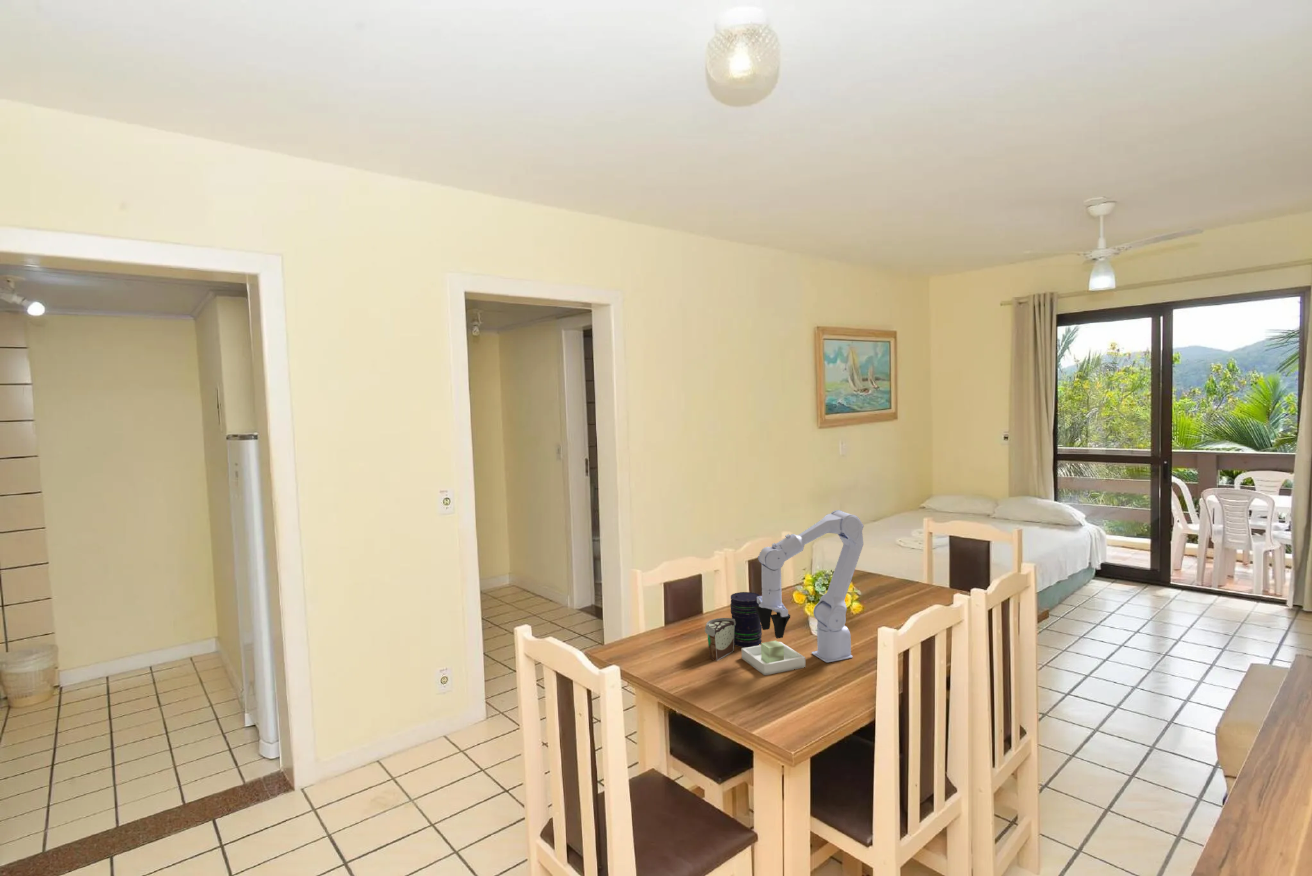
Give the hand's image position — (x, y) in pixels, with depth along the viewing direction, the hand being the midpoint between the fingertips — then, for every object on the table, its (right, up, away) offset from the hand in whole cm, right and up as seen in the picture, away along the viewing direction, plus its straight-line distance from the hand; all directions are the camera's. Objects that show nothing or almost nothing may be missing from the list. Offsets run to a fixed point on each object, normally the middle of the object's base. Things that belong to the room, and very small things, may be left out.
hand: (772, 633), depth 192 cm
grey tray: (0, -9, +1) cm, 9 cm away
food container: (-16, -9, +8) cm, 20 cm away
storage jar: (-5, -8, +18) cm, 20 cm away
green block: (0, -8, 0) cm, 8 cm away
